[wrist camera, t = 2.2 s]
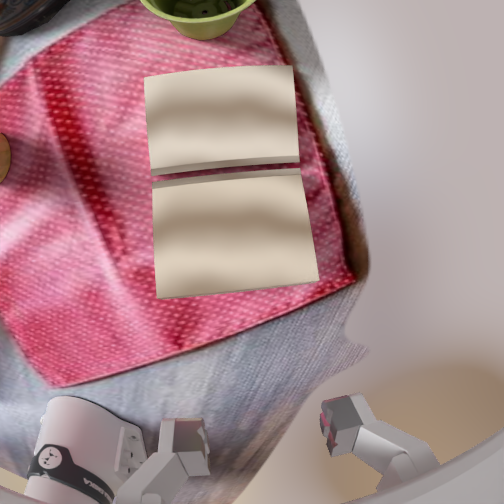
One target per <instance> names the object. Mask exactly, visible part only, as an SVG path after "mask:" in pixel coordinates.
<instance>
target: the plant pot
mask: <svg viewBox="0 0 504 504" xmlns="http://www.w3.org/2000/svg"><path fill="white" fill-rule="evenodd" d="M140 1H141V2H142V3H143V5H144V6H145V7H146V8H147V9H148V10H149V11H151V12H152V13H154V14H155V15H157V16H159V17H161V18H164V19H166V20H169V21H170V22H171V23H172V25H173V26H174V27H175V28H176V29H177V30H178V31H179V32H180V33H181V34H182V35H184V36H187V37H189V38H193V39H198V40H208V39H213V38H216V37H218V36H221V35H222V34H224V33H226V32H227V31H228V30H229V29H230V28H231V27H232V26H233V25H234V23H235V21H236V20H237V18H238V16H239V14H240V13H241V11H243V10H245V9H246V8H247V7H249V6H250V5H251V4H253V3H254V2H255V1H256V0H140ZM224 1H226V2H228V3H229V4H230V6H231V11H228V9H227V6H226V4H225V2H224ZM204 10H206V11H207V12H208V13H207V14H202V11H204ZM180 17H182V18H180Z"/></svg>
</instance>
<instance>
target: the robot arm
mask: <svg viewBox="0 0 504 504" xmlns="http://www.w3.org/2000/svg"><path fill="white" fill-rule="evenodd" d="M321 408H322V411H323V412H322V413H321V414H320V427H321V430H322V434H323V436H324V437H326V438H327V447H328V450H329V452H330V455H331V457H333V456H338V455H342V454H346V453H350V452H352V453H353V454H354V455H355V456H357V457H358V458H360V459H361V460H362V461H364V462H365V463H366V464H368V465H369V466H371V467H372V468H374V469H375V470H376V471H378V472H379V473H381V474H382V475H383V477H382V479H381V480H380V482H379V484H378V485H377V487H376V489H377V491H378V492H377V493H374V494H371V495H368V496H365V497H362V498H359V499H356V500H352V501H349V502H346V503H342V504H504V427H503V428H502V429H501V430H499V431H498V432H496V433H495V434H493V435H492V436H490V437H489V438H487V439H485V440H484V441H482V442H481V443H479V444H477V445H476V446H474V447H473V448H471V449H469V450H468V451H466V452H464V453H462V454H461V455H459V456H457V457H455V458H453V459H451V460H450V461H448V462H446V463H444V464H442V465H440V463H439V462H438V461H437V459H436V457H435V455H434V454H433V452H432V450H431V449H430V447H429V446H428V444H427V443H426V442H424V441H422V440H420V439H418V438H416V437H414V436H412V435H409V434H407V433H406V432H404V431H402V430H400V429H398V428H396V427H394V426H392V425H390V424H387V423H386V422H384V421H382V420H378V421H377V420H376V418H375V416H374V414H373V413H372V411H371V409H370V407H369V405H368V404H367V402H366V400H365V398H364V396H363V395H362V393H360V392H358V393H355V394H350V395H345V396H341V397H337V398H333V399H329V400H324V401H323V402H322V405H321ZM40 423H41V425H42V426H41V430H40V433H39V436H38V440H37V444H36V447H35V452H34V454H35V456H34V457H33V459H32V462H31V464H30V465H29V468H28V474H27V478H28V483H27V486H26V489H25V492H24V495H23V494H20V493H18V492H15V491H12V490H10V489H7V488H5V487H3V486H0V504H112V503H113V499H114V497H115V496H117V498H116V504H171V502H172V501H173V499H174V498H175V497H176V495H177V494H178V492H179V491H180V489H181V488H182V487H183V485H184V484H185V482H186V481H187V479H188V478H189V477H188V476H203V475H211V470H210V459H209V456H208V454H209V452H210V445H209V438H208V433H207V430H206V429H205V423H204V420H203V418H175V419H163V420H162V422H161V428H160V436H159V445H158V453H153V454H152V455H151V456H150V457H149V458H147V454H146V450H145V446H144V441H143V437H142V432H141V429H140V428H139V427H137V426H135V425H133V424H130V423H128V422H125V421H122V420H120V419H119V418H117V417H116V416H114V415H113V414H111V413H110V412H108V411H107V410H105V409H103V408H102V407H100V406H98V405H96V404H94V403H91V402H89V401H86V400H83V399H80V398H76V397H70V396H59V397H55V398H53V399H51V400H50V401H49V402H48V404H47V408H46V413H45V414H44V415H43V416H42V417H41V420H40Z"/></svg>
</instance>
